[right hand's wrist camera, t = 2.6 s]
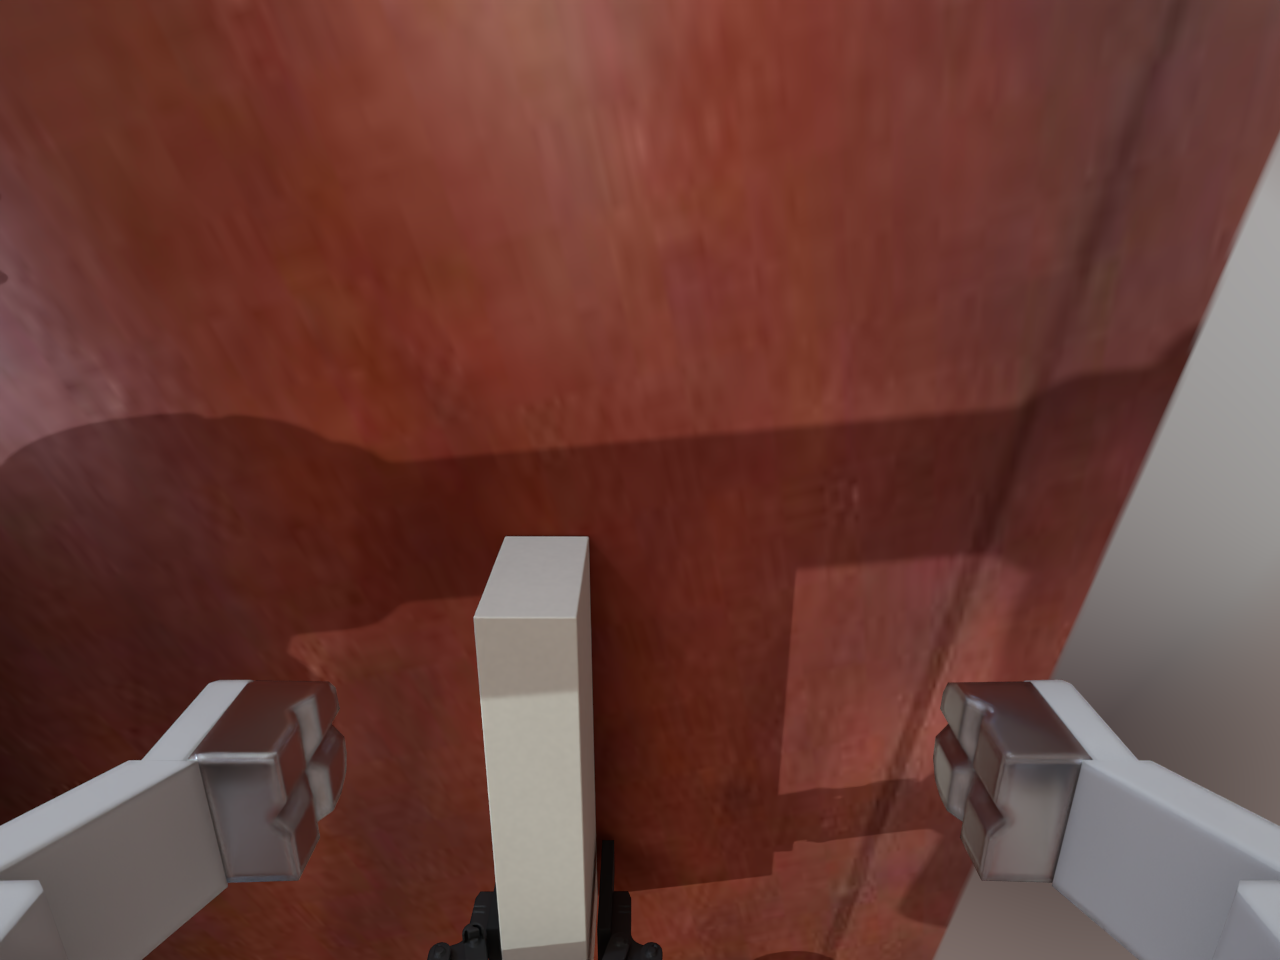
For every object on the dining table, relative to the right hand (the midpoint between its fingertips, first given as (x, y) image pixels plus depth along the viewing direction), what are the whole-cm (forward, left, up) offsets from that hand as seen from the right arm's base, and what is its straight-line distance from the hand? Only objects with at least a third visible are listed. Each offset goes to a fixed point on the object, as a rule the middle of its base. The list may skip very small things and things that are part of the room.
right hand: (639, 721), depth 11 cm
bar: (+17, +19, -32) cm, 41 cm away
